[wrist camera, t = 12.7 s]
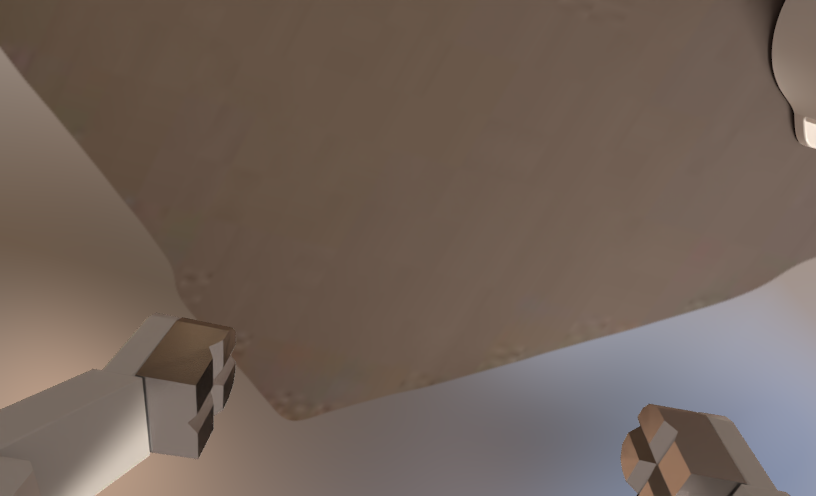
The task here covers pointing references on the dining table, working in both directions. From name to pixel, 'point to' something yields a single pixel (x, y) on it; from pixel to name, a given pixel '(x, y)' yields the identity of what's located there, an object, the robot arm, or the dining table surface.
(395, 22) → the dining table surface
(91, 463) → the robot arm
